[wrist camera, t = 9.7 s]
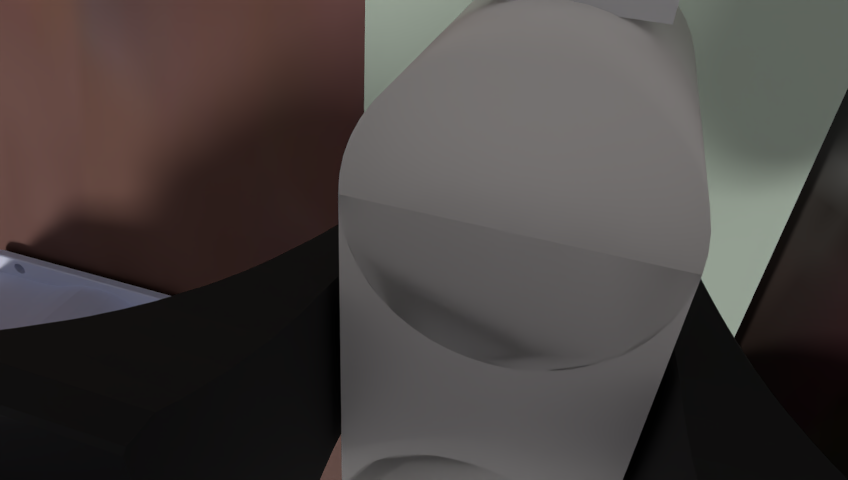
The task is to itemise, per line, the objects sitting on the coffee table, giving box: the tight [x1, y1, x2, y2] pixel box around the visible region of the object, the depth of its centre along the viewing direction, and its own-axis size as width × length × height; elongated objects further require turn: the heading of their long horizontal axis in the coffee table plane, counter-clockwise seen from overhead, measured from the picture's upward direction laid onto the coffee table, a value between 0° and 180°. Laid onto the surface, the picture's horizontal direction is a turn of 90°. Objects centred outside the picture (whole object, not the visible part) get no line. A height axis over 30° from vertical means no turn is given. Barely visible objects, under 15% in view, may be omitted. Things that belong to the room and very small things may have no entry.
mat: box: [364, 0, 848, 337], centre depth 18 cm, size 12×16×1 cm
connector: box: [338, 0, 711, 480], centre depth 10 cm, size 4×13×5 cm, turn 176°
